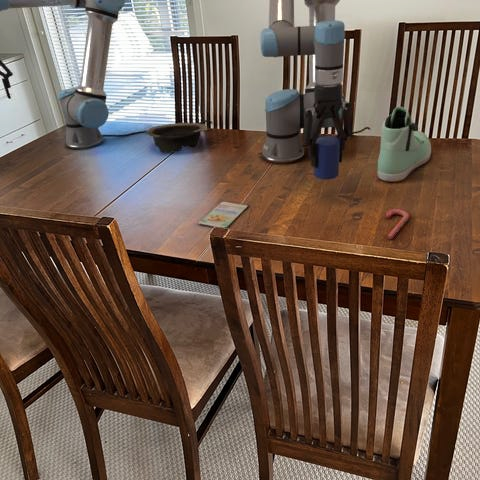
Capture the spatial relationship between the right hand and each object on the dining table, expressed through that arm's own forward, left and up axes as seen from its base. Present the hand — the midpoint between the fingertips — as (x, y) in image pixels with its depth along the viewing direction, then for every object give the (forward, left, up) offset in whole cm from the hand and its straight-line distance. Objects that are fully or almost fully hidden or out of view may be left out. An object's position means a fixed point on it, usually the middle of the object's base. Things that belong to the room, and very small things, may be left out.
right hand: (326, 163), depth 141 cm
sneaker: (-35, -10, -11) cm, 38 cm away
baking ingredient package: (+32, -2, -11) cm, 34 cm away
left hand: (+94, -68, +17) cm, 117 cm away
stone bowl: (+31, -67, -11) cm, 75 cm away
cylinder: (0, 0, -4) cm, 4 cm away
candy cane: (-8, +24, -11) cm, 28 cm away
